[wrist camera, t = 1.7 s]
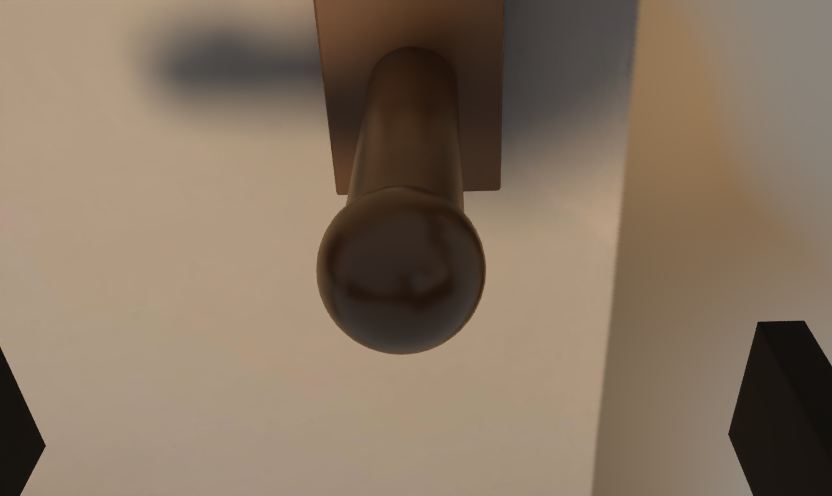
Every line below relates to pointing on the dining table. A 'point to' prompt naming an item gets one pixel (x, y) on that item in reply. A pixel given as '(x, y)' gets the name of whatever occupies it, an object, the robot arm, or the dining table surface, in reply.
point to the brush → (408, 163)
